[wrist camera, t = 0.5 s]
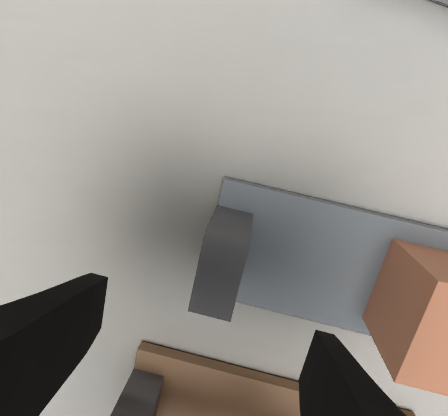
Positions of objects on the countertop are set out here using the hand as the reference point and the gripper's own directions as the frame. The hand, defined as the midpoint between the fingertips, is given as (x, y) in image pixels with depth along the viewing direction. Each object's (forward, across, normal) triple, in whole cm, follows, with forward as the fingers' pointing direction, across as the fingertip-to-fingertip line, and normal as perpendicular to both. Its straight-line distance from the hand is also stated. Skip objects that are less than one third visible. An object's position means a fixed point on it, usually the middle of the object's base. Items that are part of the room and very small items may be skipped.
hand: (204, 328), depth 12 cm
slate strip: (+9, -7, 0) cm, 11 cm away
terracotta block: (+8, -11, 0) cm, 14 cm away
